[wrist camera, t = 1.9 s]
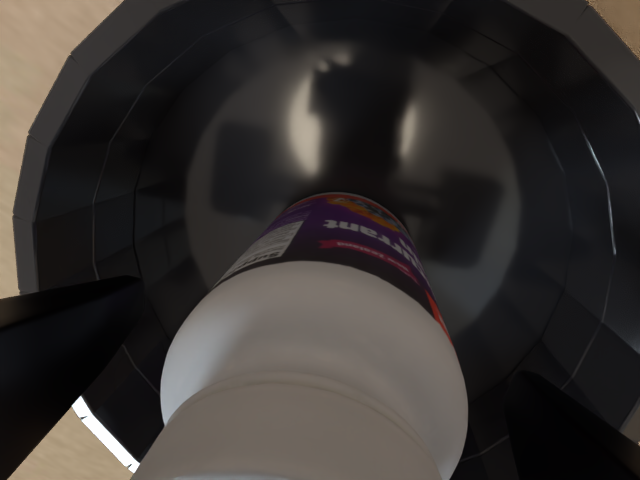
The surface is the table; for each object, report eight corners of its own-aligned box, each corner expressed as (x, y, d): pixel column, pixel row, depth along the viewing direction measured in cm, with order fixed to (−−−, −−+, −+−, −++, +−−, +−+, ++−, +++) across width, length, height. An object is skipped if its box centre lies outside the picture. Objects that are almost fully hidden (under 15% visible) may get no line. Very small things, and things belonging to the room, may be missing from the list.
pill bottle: (449, 272, 13) (677, 692, 3) (333, 356, 14) (275, 797, 5) (342, 153, 12) (262, 283, 3) (232, 256, 13) (-64, 566, 4)
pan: (611, 400, 14) (721, 527, 9) (224, 463, 17) (177, 577, 13) (543, -104, 9) (690, -285, 5) (43, 111, 13) (-117, 107, 8)
